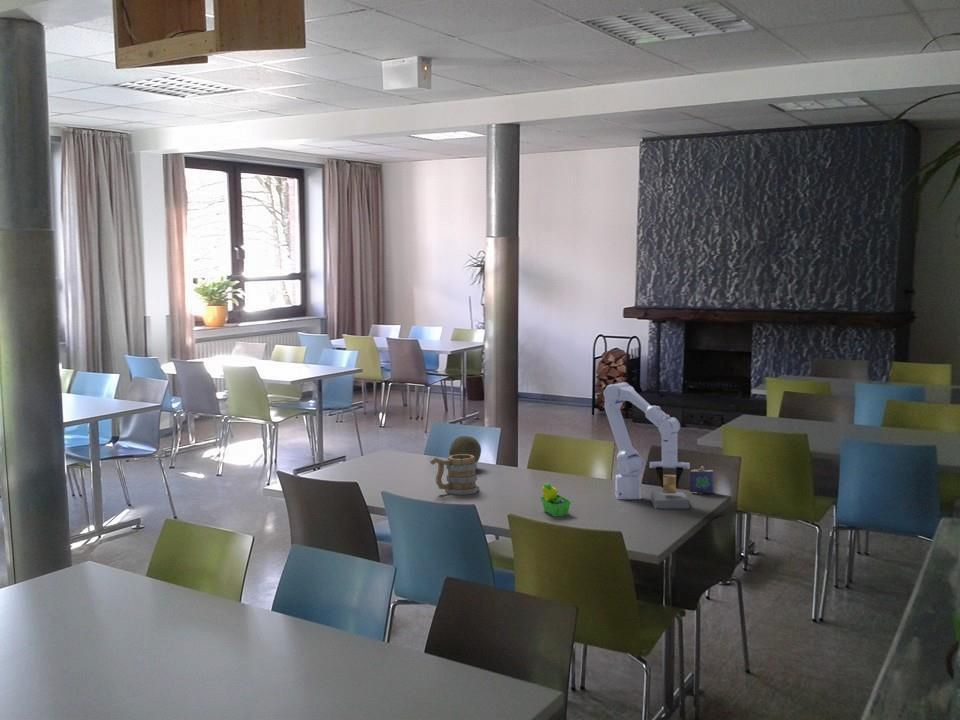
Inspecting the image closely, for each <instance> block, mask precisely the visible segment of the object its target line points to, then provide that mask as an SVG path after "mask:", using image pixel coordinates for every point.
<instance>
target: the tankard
mask: <svg viewBox="0 0 960 720" xmlns="http://www.w3.org/2000/svg"><path fill="white" fill-rule="evenodd" d="M429 462H430V464H431V465H432V466H434V465H435V464H436V463H437V464H438V467H437V473H436V476H435V484H436V485H437V488H438V489H439V490H444V491H445V492H446V493H448V494H449V495H461V496H465V495H471V494H472V493H473V494H475V493H477V492H478V491H479V490H480V486H479V485H478V484H477V483H476V481H478V474H477V473H476V469H477V468H478V462H477V463H476V462H475V456H473V455H468V454H458V455H451V456H448V457H447V459H446V460H445V459H444V460H443V459H440V458H438V457H434V458H432V459H431V460H429ZM445 468H446V470H447V471H448V472H447V475H446V481H447V482H446V483H443V481H442V480H443V479H442V477H443V475H444V471H445Z"/></svg>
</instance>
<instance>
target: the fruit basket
mask: <svg viewBox="0 0 960 720" xmlns="http://www.w3.org/2000/svg"><path fill="white" fill-rule="evenodd" d="M541 491H542V496H540V501H541V502H542V506H543V509H544V512H546V513H547V514H549V515H551V516H553V517H563V516H568V513H569V509H570V506H571V503H572V501H571V500H569V499H568V498H565V497H563V496H561V495H559V494H558V492H559V490H558V489H557V488H555V487H554V486H552V485H551V484H550V483H543V485H542V487H541Z"/></svg>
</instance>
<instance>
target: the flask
mask: <svg viewBox="0 0 960 720" xmlns="http://www.w3.org/2000/svg"><path fill="white" fill-rule="evenodd" d="M690 492H697V493H708V494H707V495H712V494H714V493H715V471H714V470H712V469H708V470H707V469H706V470H705V467H704V465H703V466H702V465H701V466H700V468H699V469H698V468H697V469H695V468H694V469H692V470H689V493H690Z"/></svg>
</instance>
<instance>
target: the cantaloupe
mask: <svg viewBox="0 0 960 720" xmlns="http://www.w3.org/2000/svg"><path fill="white" fill-rule="evenodd" d="M481 447H482V446H481V444H480V442H479V441H478V440H477V438H475V437H473V436H469V435H462V436H460V435H459V436H458V437H456V438H455V439H454V440H453V441H452V443H451V444H450V447H449V451H448V452H449V454H448V455H449V456H451V455H458V454H468V455H473V456H475V462H476V463H477V464H478V463H479V460H480V458H481V454H482V448H481ZM449 456H448V457H449Z"/></svg>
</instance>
